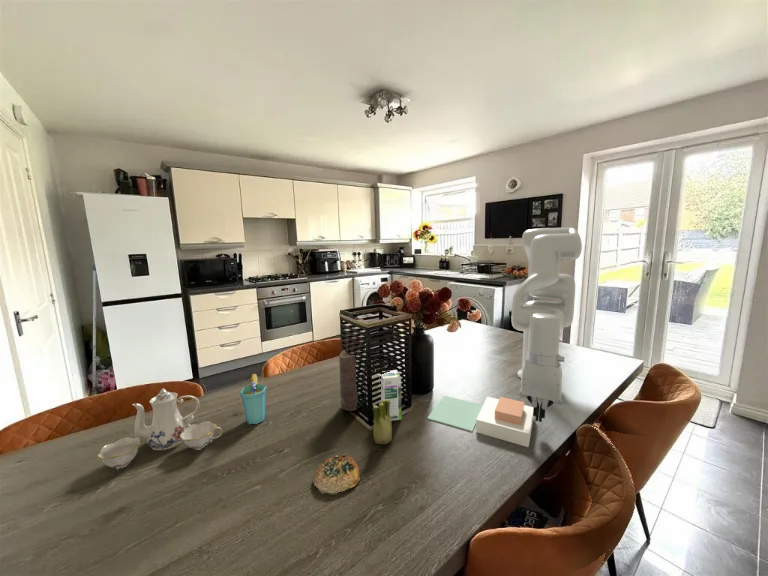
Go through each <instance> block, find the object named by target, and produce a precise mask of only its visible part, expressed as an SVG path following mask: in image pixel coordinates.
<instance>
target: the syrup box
mask: <svg viewBox="0 0 768 576" xmlns="http://www.w3.org/2000/svg"><path fill="white" fill-rule="evenodd" d="M389 371H390V372H387V373H384V374H382V375H381V401H382V400H387V399H388V400H390V418H391V422H393V421H401V420H402V419H403V418H402V377H401V375H400V373H399V371H398V370H397V369H393V370H389ZM381 403H382V402H381Z"/></svg>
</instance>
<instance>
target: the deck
mask: <svg viewBox="0 0 768 576" xmlns="http://www.w3.org/2000/svg"><path fill="white" fill-rule="evenodd" d="M499 399H500V398H494V397H491V396H486V399H485V401H484V403H483V404H482V405H483V407H482V409H481V411H480V413H479V415H478V417H477V419H476V425H475V433H478V434H480V435H484V436H488V437H491V438H495V439H498V440H502V441H505V442H510V443H513V444H517V445H519V446H523V447H526V448H530V447H529V446H530V442H531V435H532V429H533V428H532V427H533V423H534V416H533V406H530V405H526V404H524V412H523V417H522V421H521V425H518V424H514V423H510V422H506V421H502V420H498V419H494V418H495V409H496V406H497V404H498V401H499Z"/></svg>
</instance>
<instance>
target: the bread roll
mask: <svg viewBox="0 0 768 576" xmlns="http://www.w3.org/2000/svg"><path fill="white" fill-rule="evenodd" d="M358 465H359V464H358V463H357V462H356V461H355V460H354V458H353V457H351V456H348V455H346V454H337V455H334V456H332V457H328V458H326V459H325V460H324V461H322V463H321V464H320V465H319V466H318V468H317V469H316V470H315V473H314V475H313V478H312V479H313V480H312V482H313V485H314V487H315V486H316V487H317V488H318V489H319V490H321V491H323V492H327V493H338V492H341V491H344V492H345V490H346V491H347V490H349V489H352V488H353V487H355V486H356V485H357V484H358V483H359V481H360V479H361V478H360V475H361V472H360V468H359V466H358Z"/></svg>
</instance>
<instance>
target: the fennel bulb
mask: <svg viewBox="0 0 768 576" xmlns="http://www.w3.org/2000/svg"><path fill="white" fill-rule="evenodd" d="M372 410H373V434H372V435H373V439H374V443H375V444H377V445H388V444H389V443H391V442H392V439H393V437H392V436H393V433H392V432H393V428H392V426H393V425H392V421H391V418H390V400H388V399H387V400H382V403H379V404H378V406H377V405H375V404H374V405H373V409H372Z"/></svg>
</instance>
